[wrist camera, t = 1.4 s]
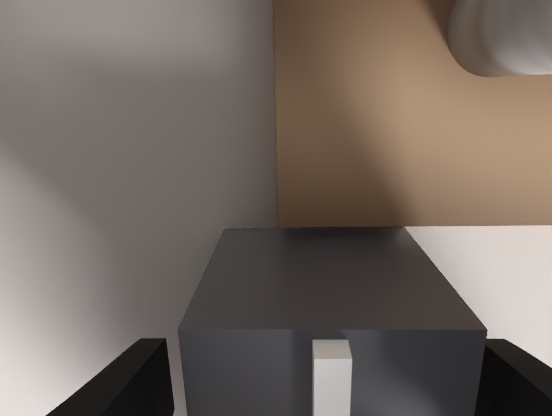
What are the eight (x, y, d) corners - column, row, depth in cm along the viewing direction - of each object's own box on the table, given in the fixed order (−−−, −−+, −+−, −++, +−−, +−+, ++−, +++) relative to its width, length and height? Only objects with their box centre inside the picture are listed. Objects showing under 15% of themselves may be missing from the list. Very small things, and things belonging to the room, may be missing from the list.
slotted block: (392, 377, 13) (463, 579, 8) (234, 376, 13) (196, 571, 8) (404, 227, 11) (502, 348, 6) (224, 229, 12) (169, 347, 6)
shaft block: (638, 211, 11) (864, 292, 7) (279, 215, 11) (272, 294, 7) (759, -256, 8) (1298, -650, 4) (269, -229, 8) (248, -558, 4)
